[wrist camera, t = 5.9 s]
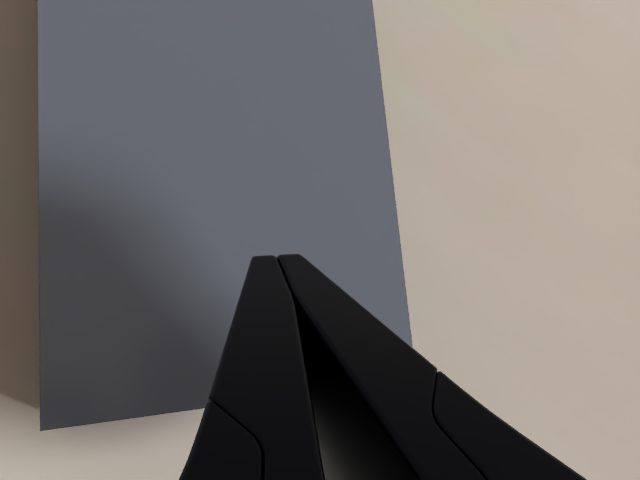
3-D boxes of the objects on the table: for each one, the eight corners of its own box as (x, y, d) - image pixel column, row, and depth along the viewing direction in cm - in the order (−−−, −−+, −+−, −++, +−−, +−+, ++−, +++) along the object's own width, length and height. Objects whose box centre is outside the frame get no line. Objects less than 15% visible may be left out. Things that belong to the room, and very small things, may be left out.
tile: (416, 378, 15) (367, -45, 17) (39, 431, 12) (36, -86, 14) (385, 371, 17) (345, -2, 19) (62, 414, 14) (56, -30, 16)
